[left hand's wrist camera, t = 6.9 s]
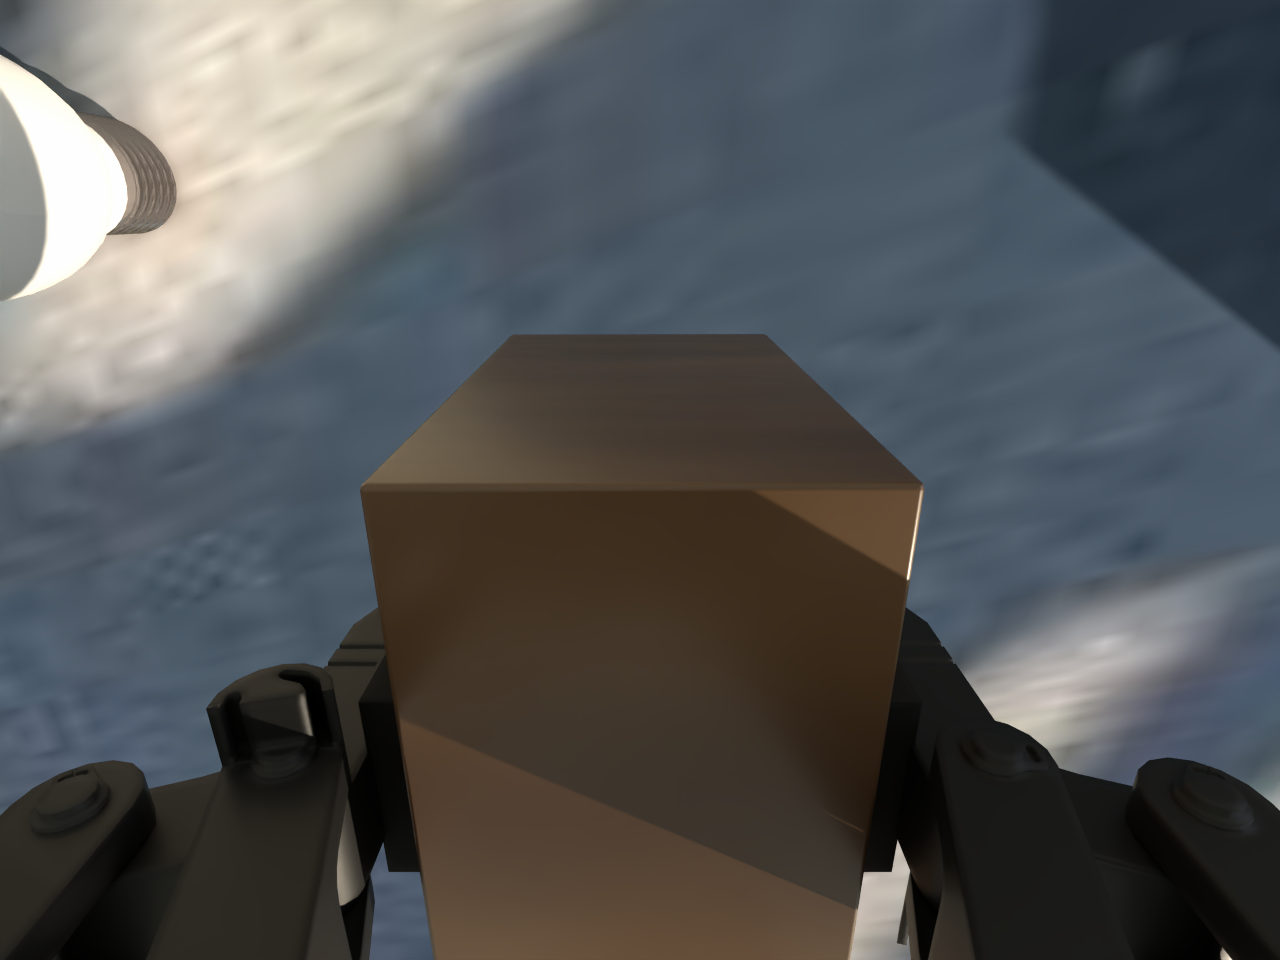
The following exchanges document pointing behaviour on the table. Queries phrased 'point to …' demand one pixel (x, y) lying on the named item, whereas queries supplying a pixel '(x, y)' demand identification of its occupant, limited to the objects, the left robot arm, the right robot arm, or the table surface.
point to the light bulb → (68, 184)
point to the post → (641, 649)
